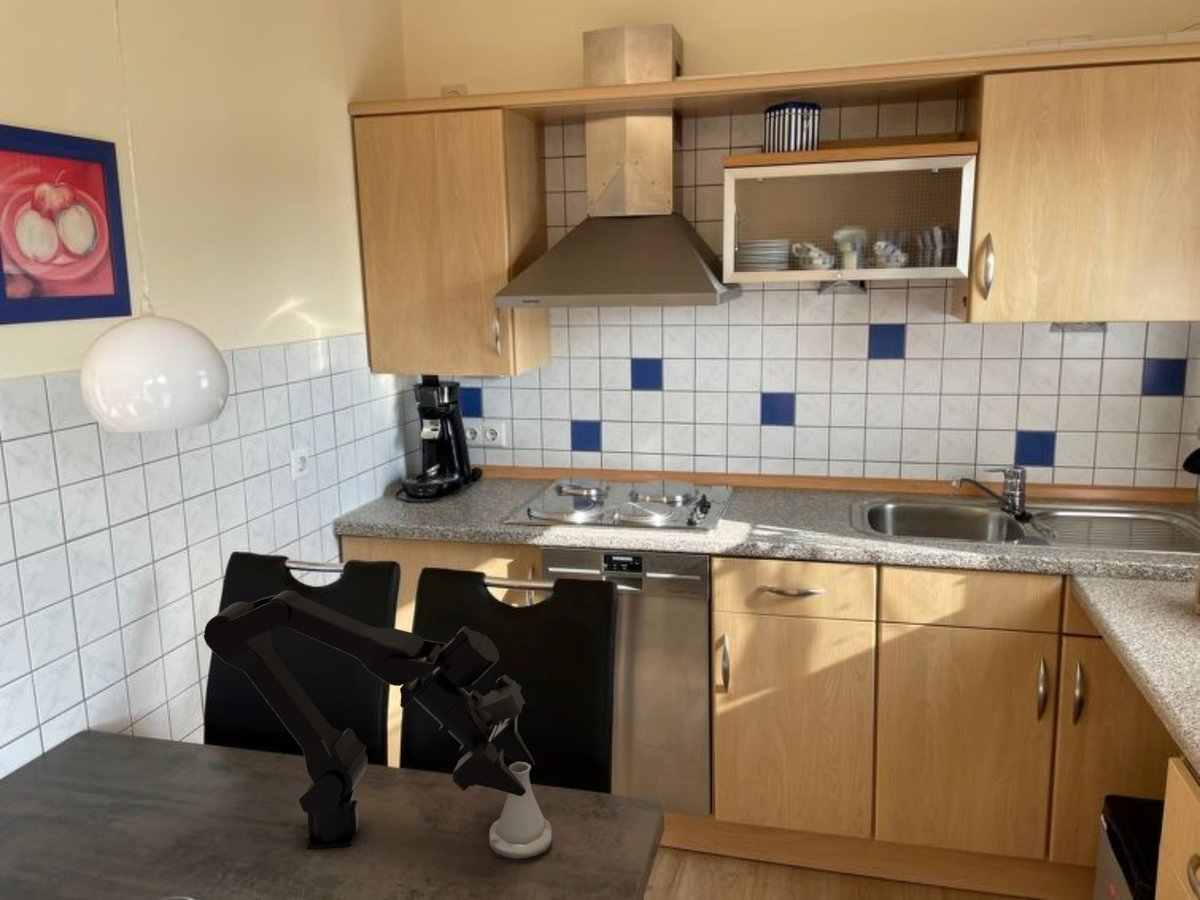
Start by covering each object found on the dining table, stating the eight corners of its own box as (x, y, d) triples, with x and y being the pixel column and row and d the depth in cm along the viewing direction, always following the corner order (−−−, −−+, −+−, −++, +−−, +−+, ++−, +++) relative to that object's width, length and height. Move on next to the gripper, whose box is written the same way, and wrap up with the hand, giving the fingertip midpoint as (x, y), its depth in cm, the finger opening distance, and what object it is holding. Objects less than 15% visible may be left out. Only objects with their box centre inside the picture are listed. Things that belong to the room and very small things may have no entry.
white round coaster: (489, 866, 130) (488, 850, 129) (490, 829, 138) (490, 814, 138) (552, 862, 130) (552, 846, 130) (550, 825, 139) (550, 810, 139)
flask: (528, 850, 129) (526, 785, 127) (486, 836, 132) (484, 772, 131) (555, 824, 135) (553, 761, 133) (513, 811, 139) (512, 750, 137)
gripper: (473, 698, 121) (557, 779, 122) (502, 643, 139) (575, 714, 140) (417, 751, 123) (500, 830, 124) (453, 690, 141) (525, 760, 142)
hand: (528, 779), depth 132 cm, fingers open, 7 cm apart
